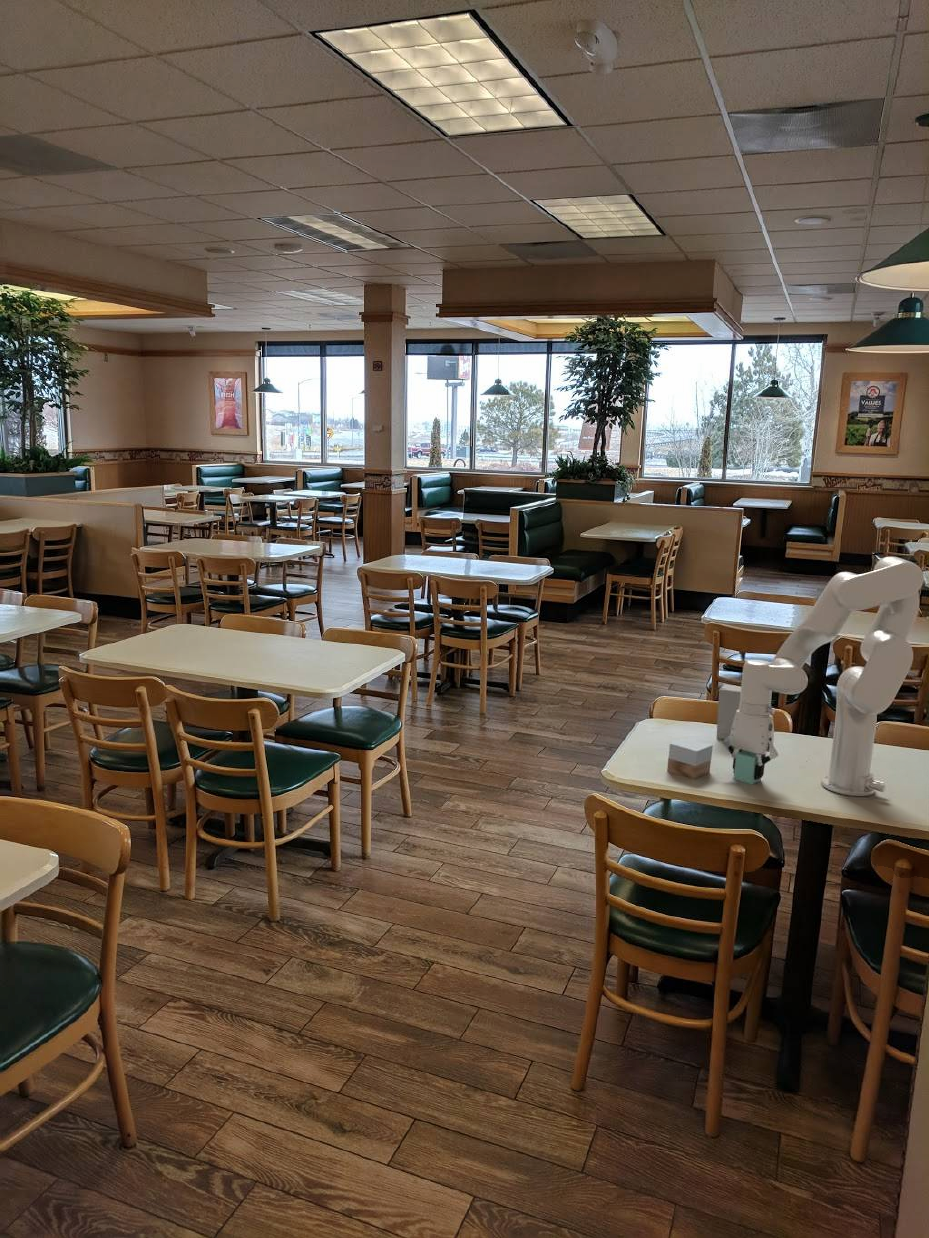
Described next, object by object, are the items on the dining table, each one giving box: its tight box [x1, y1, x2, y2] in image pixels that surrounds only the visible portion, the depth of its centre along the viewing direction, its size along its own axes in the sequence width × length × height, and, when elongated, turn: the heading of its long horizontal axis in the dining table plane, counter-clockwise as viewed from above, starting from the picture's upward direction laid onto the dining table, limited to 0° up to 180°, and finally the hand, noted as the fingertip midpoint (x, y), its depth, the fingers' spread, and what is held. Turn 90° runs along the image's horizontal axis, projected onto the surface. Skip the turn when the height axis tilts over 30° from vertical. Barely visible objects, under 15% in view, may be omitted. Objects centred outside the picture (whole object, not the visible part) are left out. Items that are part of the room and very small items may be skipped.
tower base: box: [666, 757, 712, 780], centre depth 236 cm, size 8×8×4 cm
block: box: [733, 750, 761, 785], centre depth 231 cm, size 5×5×7 cm
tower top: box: [668, 737, 714, 766], centre depth 235 cm, size 8×8×4 cm
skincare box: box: [716, 684, 741, 741], centre depth 265 cm, size 8×7×16 cm
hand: (747, 774), depth 232 cm, fingers open, 5 cm apart
